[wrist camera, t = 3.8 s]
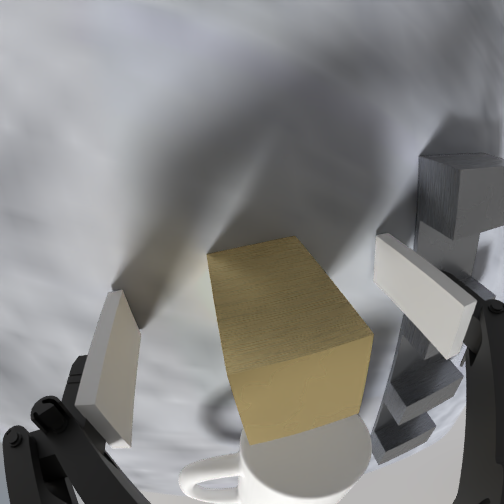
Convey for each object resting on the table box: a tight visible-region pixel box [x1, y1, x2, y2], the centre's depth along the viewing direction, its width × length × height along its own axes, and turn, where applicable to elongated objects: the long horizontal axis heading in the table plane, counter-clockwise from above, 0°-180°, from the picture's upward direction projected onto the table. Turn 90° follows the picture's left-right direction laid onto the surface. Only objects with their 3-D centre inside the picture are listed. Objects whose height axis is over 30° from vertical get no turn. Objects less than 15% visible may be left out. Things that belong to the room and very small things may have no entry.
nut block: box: [207, 236, 374, 445], centre depth 11 cm, size 4×4×7 cm
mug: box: [179, 414, 372, 504], centre depth 17 cm, size 12×10×8 cm
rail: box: [370, 153, 504, 465], centre depth 19 cm, size 28×6×3 cm, turn 8°
